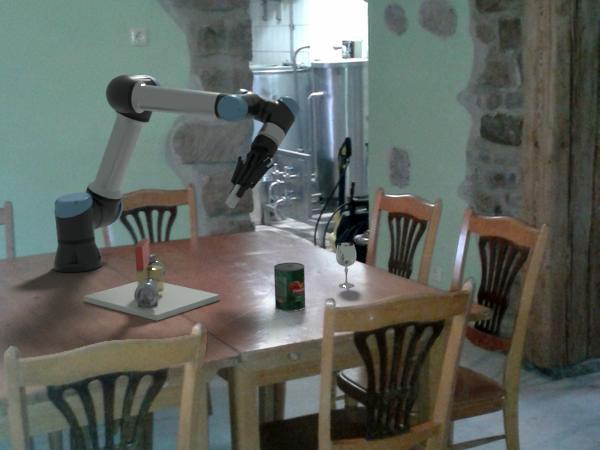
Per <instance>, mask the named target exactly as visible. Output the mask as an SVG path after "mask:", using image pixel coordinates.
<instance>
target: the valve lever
mask: <svg viewBox="0 0 600 450" xmlns="http://www.w3.org/2000/svg"><path fill="white" fill-rule="evenodd" d="M134 250H135V251H134V254H135V255H134V256H135V268H136V270H137V272H143V271H144V270H145V268H146V267H147V265H148V264H151V263H155V262H156V261H157V259H156V254H154V253H150V243H149V238H140V240H139V241H138V242H137V244H136V245H135V247H134ZM137 272H136V273H137Z"/></svg>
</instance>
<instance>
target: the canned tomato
mask: <svg viewBox="0 0 600 450" xmlns="http://www.w3.org/2000/svg"><path fill="white" fill-rule="evenodd" d="M273 271H274V272H273V273H274V301H275V302H274V303H275V306H274V307H275V309H276V310H278V311H280V310H282V311H281V312H296V311H295V310H298V311H301V310H300V309H302V310H304V309H305V308H306V285H305V264H303V263H300V262H292V261H291V262H282V263H277V264H275V265H274V266H273ZM303 308H304V309H303Z"/></svg>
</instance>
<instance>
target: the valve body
mask: <svg viewBox="0 0 600 450" xmlns="http://www.w3.org/2000/svg"><path fill="white" fill-rule="evenodd" d="M165 271H166V270H165V266H164V264H163V263H162V262H160V261H159V260H156V262H155V263H151V264H148V265H147V267H146V268H145V270H144V271H143V272H137V270H136V282H137V288H136V290H135V293H134V298H135V300H136V302H137V303H138V307H149V306H158V303H159V302H158V292H161V291H163V290H164V283H165V282H164V275H165Z"/></svg>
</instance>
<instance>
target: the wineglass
mask: <svg viewBox="0 0 600 450" xmlns="http://www.w3.org/2000/svg"><path fill="white" fill-rule="evenodd" d="M335 260H336V263H337V264H338V265H339V266H341V267H344V275H345V281H344V282H343V283H339V284H338V288H344V287H345V288H344V289H346V288H347V289H348V288H349V287H350V288H354V287H355V284H353V283H352V282H351V283H349V281H348V272H349V268H348V267H351V266H352V265H354V264H355V263H356V261H357V250H356V247H355V244H354V243H353V242H340V243H338V244H337V246H336V251H335ZM350 288H349V289H350Z"/></svg>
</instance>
